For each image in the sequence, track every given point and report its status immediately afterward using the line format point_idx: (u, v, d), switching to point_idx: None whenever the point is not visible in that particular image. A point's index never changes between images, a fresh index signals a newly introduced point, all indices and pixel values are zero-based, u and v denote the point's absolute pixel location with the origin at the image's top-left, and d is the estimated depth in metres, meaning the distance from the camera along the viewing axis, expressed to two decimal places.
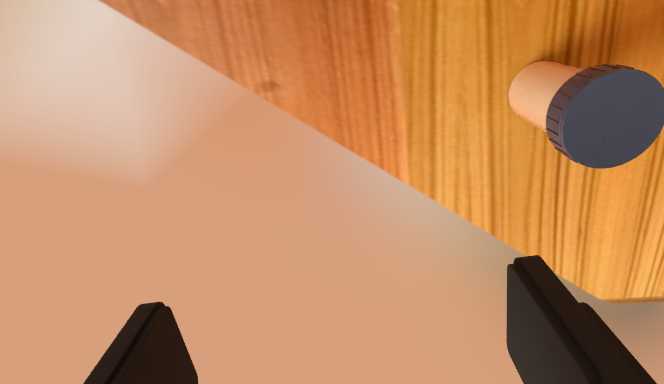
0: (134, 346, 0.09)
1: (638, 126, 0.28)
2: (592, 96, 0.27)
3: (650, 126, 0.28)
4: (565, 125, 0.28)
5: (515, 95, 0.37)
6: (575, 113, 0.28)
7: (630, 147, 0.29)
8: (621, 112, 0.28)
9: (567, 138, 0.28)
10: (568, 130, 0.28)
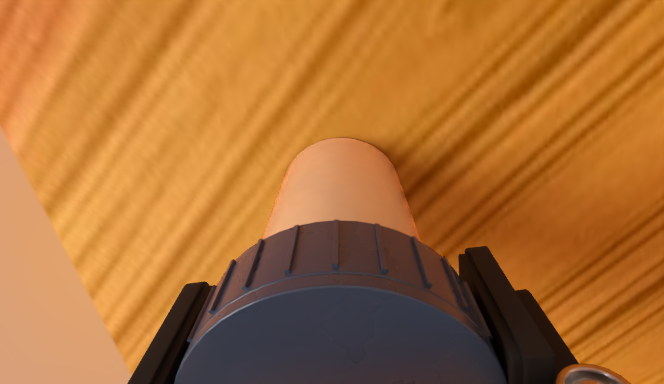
0: (187, 320, 0.10)
1: None
2: (339, 327, 0.07)
3: None
4: (212, 340, 0.08)
5: (294, 166, 0.17)
6: (261, 332, 0.07)
7: None
8: None
9: (194, 375, 0.08)
10: (211, 359, 0.08)
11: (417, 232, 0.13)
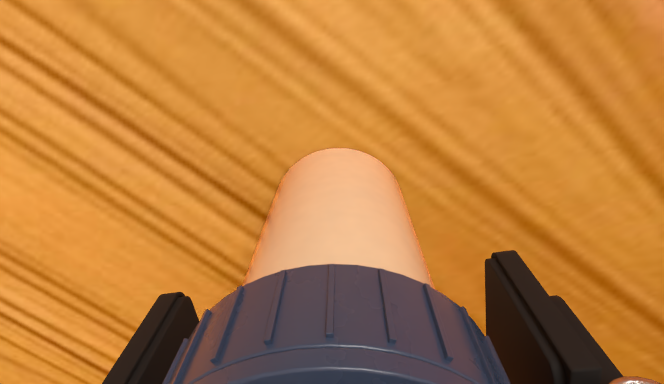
0: (158, 333, 0.10)
1: None
2: None
3: None
4: None
5: (390, 181, 0.15)
6: None
7: None
8: None
9: None
10: None
11: None
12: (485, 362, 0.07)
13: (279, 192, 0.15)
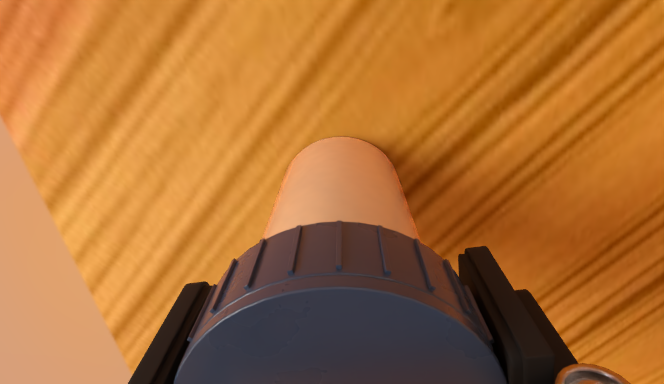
0: (187, 320, 0.10)
1: None
2: None
3: (453, 376, 0.08)
4: None
5: (295, 164, 0.17)
6: None
7: None
8: None
9: None
10: None
11: (416, 230, 0.13)
12: (215, 298, 0.08)
13: None
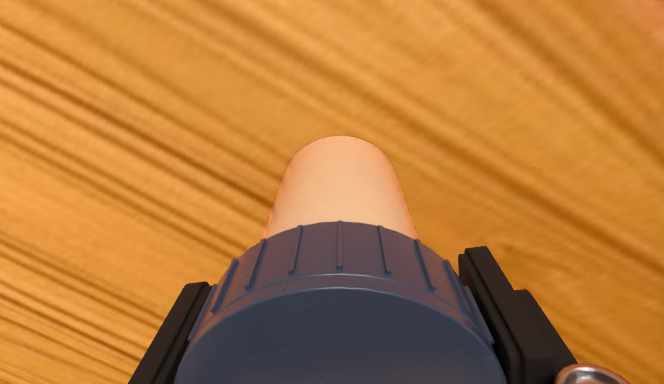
0: (188, 320, 0.10)
1: None
2: None
3: (454, 376, 0.08)
4: None
5: (381, 159, 0.17)
6: None
7: None
8: None
9: None
10: None
11: None
12: (215, 298, 0.08)
13: (282, 180, 0.17)
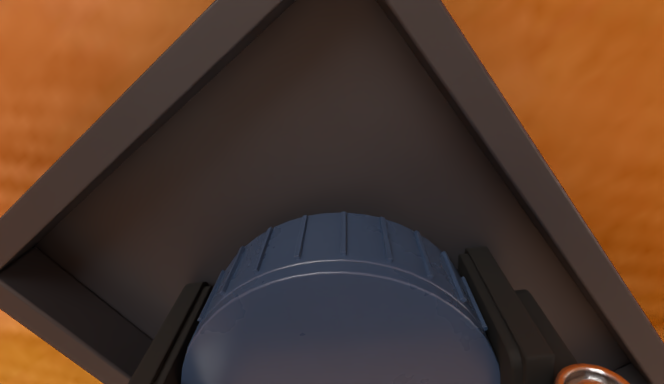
0: (188, 320, 0.10)
1: (297, 349, 0.08)
2: None
3: (269, 324, 0.08)
4: None
5: None
6: None
7: (359, 315, 0.08)
8: None
9: None
10: None
11: None
12: None
13: None
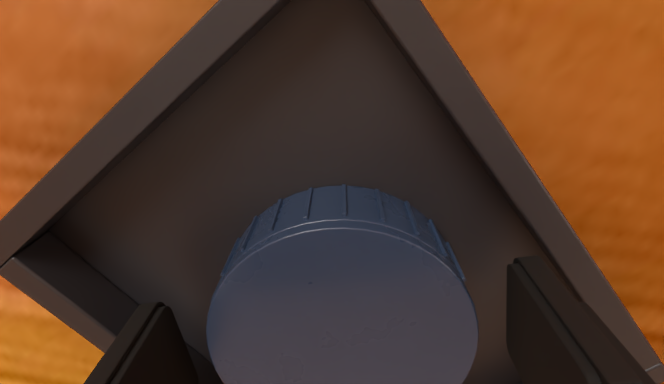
0: (135, 346, 0.09)
1: (305, 296, 0.10)
2: None
3: (282, 274, 0.10)
4: None
5: None
6: None
7: (357, 266, 0.09)
8: (314, 351, 0.10)
9: None
10: None
11: None
12: None
13: None
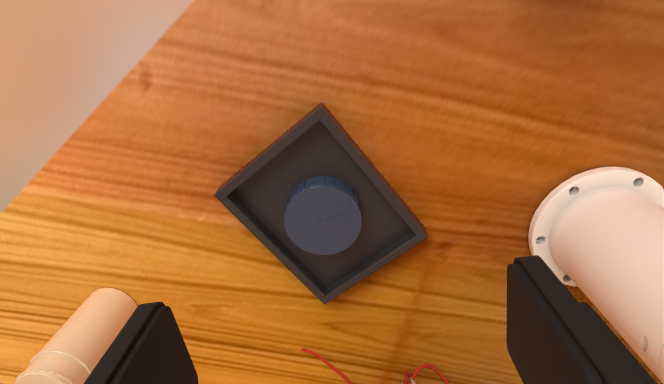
0: (134, 346, 0.09)
1: (312, 206, 0.35)
2: (322, 246, 0.37)
3: (306, 199, 0.35)
4: (348, 244, 0.37)
5: (106, 298, 0.42)
6: (337, 246, 0.37)
7: (326, 196, 0.35)
8: (315, 223, 0.36)
9: (353, 236, 0.37)
10: (349, 240, 0.37)
11: None
12: None
13: None
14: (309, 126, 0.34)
